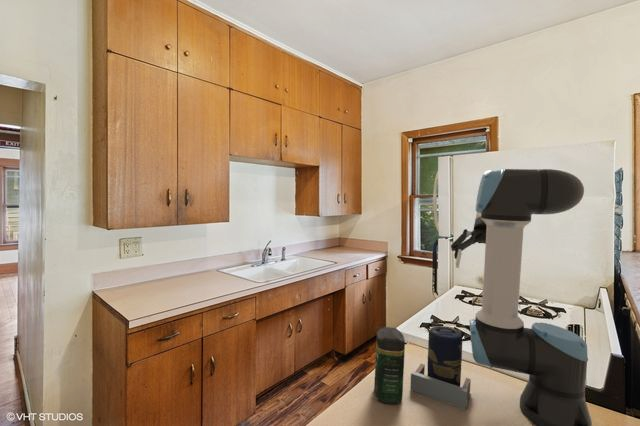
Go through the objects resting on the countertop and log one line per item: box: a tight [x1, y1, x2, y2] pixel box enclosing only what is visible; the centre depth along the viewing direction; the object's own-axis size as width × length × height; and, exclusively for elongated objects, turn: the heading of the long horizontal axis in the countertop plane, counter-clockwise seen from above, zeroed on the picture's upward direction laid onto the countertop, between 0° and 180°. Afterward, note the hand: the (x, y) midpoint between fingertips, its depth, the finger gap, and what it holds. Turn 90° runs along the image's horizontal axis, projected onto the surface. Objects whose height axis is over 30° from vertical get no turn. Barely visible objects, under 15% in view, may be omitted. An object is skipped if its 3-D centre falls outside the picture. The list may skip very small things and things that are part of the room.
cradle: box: [414, 363, 472, 401], centre depth 93 cm, size 14×8×4 cm, turn 56°
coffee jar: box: [373, 326, 406, 405], centre depth 90 cm, size 10×8×19 cm
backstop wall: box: [409, 370, 468, 411], centre depth 89 cm, size 15×2×5 cm, turn 56°
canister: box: [426, 325, 463, 387], centre depth 95 cm, size 10×10×18 cm
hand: (478, 268), depth 110 cm, fingers open, 13 cm apart
